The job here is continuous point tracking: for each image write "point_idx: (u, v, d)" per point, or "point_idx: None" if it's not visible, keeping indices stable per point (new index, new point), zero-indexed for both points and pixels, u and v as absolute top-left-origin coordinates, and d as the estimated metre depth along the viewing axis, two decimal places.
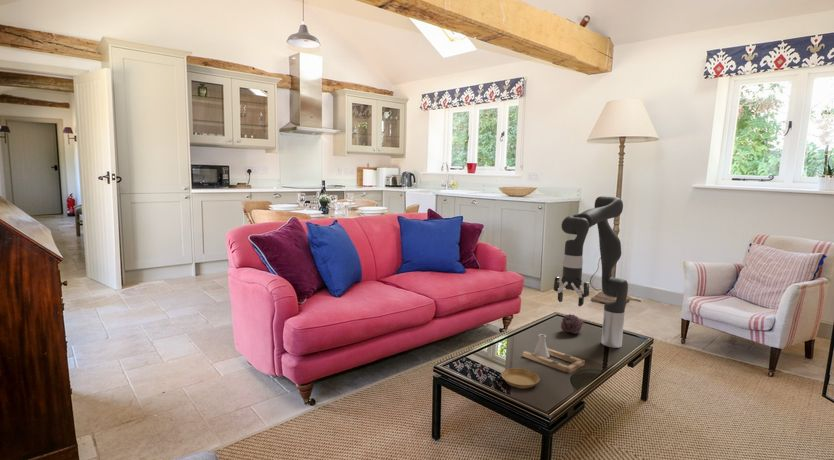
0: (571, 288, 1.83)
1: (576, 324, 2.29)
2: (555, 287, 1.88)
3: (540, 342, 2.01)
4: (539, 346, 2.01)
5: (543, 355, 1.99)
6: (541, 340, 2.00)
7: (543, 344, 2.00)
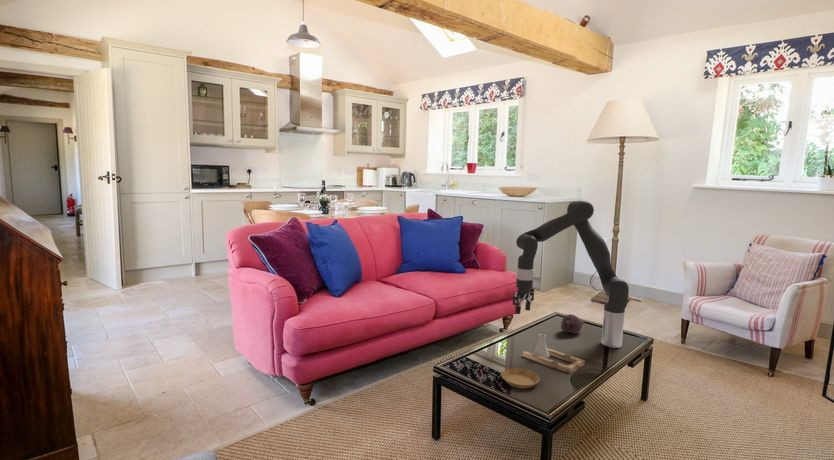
0: (526, 297, 2.07)
1: (576, 324, 2.29)
2: (518, 302, 2.02)
3: (540, 342, 2.01)
4: (539, 346, 2.01)
5: (543, 355, 1.99)
6: (541, 340, 2.00)
7: (543, 344, 2.00)
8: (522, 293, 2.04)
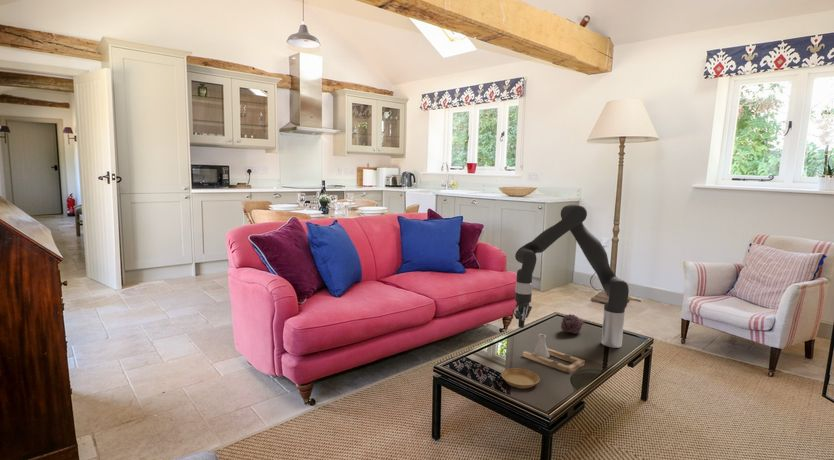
0: None
1: (576, 324, 2.29)
2: (520, 317, 2.06)
3: (540, 342, 2.01)
4: (539, 346, 2.01)
5: (543, 355, 1.99)
6: (541, 340, 2.00)
7: (543, 344, 2.00)
8: (520, 309, 2.05)
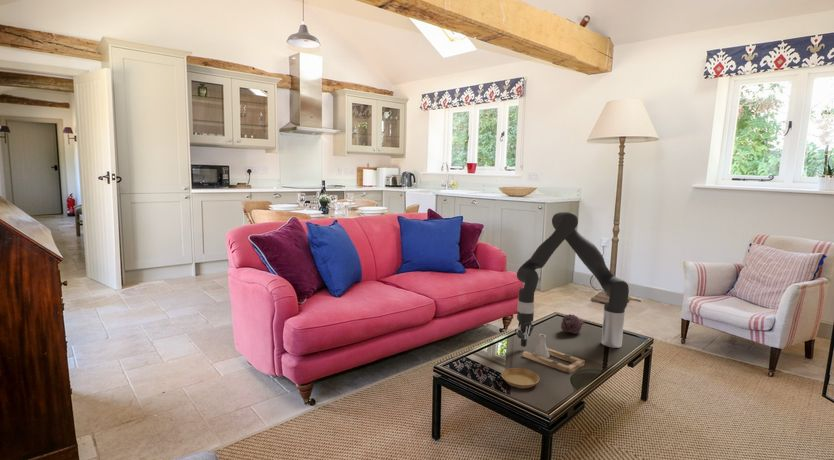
0: None
1: (576, 324, 2.29)
2: (522, 336, 2.05)
3: (540, 342, 2.01)
4: (539, 346, 2.01)
5: (543, 355, 1.99)
6: (541, 340, 2.00)
7: (543, 344, 2.00)
8: (523, 328, 2.05)
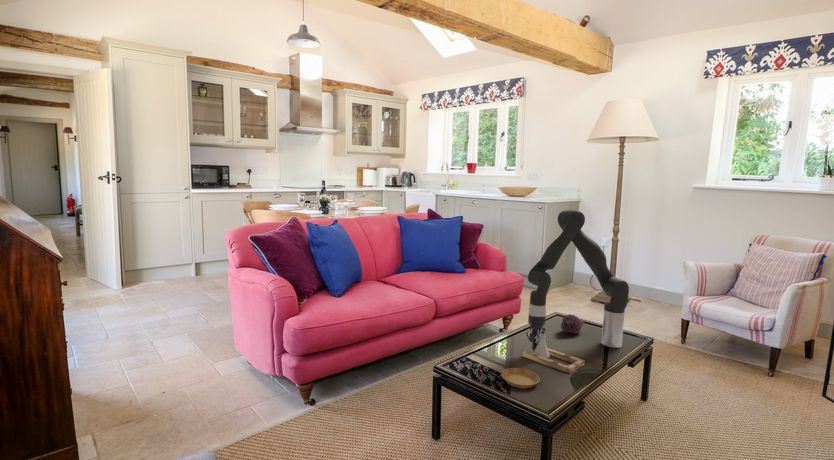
0: None
1: (576, 324, 2.29)
2: (534, 340, 2.01)
3: (540, 342, 2.01)
4: (539, 346, 2.01)
5: (543, 355, 1.99)
6: (541, 340, 2.00)
7: (543, 344, 2.00)
8: (534, 332, 2.01)
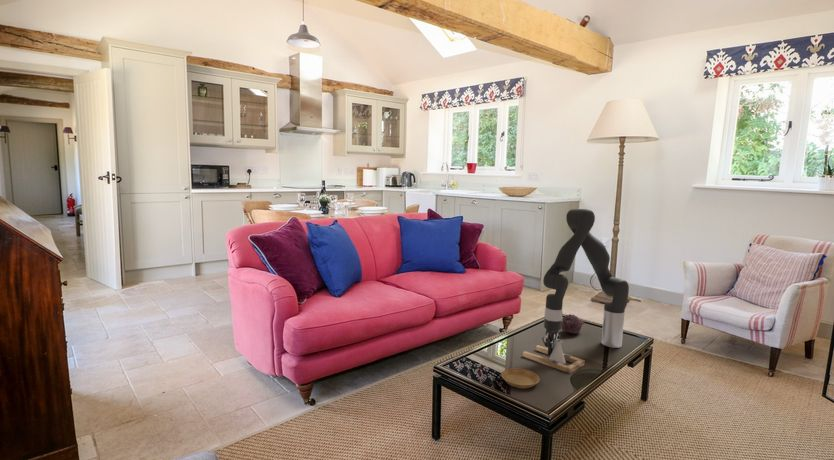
0: None
1: (576, 324, 2.29)
2: (550, 345, 1.95)
3: (556, 347, 1.95)
4: (555, 352, 1.95)
5: (559, 361, 1.93)
6: (557, 345, 1.94)
7: (559, 350, 1.94)
8: (550, 337, 1.95)
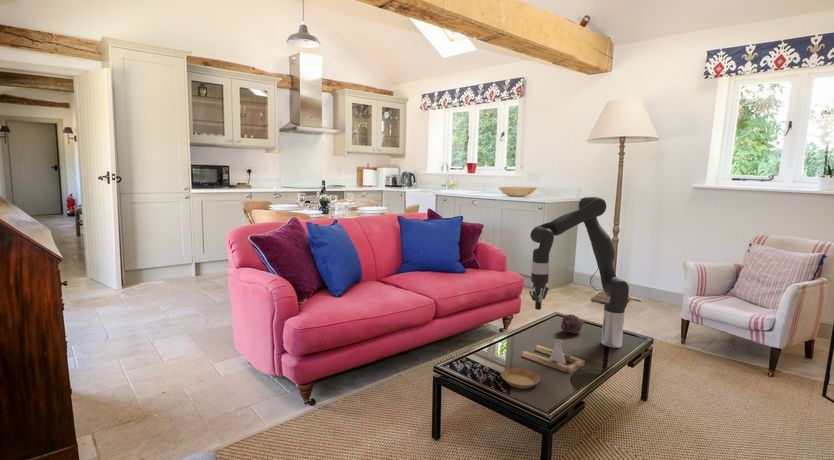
0: None
1: (576, 324, 2.29)
2: (537, 298, 1.98)
3: (556, 348, 1.95)
4: (555, 352, 1.95)
5: (559, 361, 1.93)
6: (557, 345, 1.94)
7: (559, 350, 1.94)
8: (537, 290, 1.98)
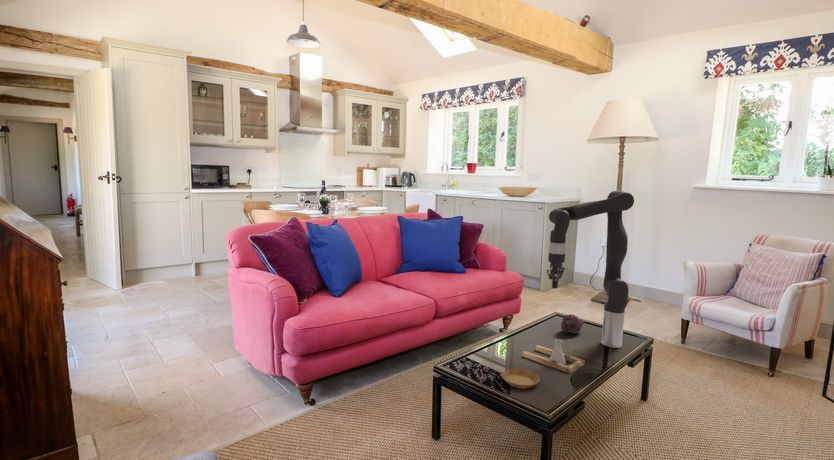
0: None
1: (576, 324, 2.29)
2: (554, 277, 2.07)
3: (556, 348, 1.95)
4: (555, 352, 1.95)
5: (559, 361, 1.93)
6: (557, 345, 1.94)
7: (559, 350, 1.94)
8: (554, 269, 2.07)
